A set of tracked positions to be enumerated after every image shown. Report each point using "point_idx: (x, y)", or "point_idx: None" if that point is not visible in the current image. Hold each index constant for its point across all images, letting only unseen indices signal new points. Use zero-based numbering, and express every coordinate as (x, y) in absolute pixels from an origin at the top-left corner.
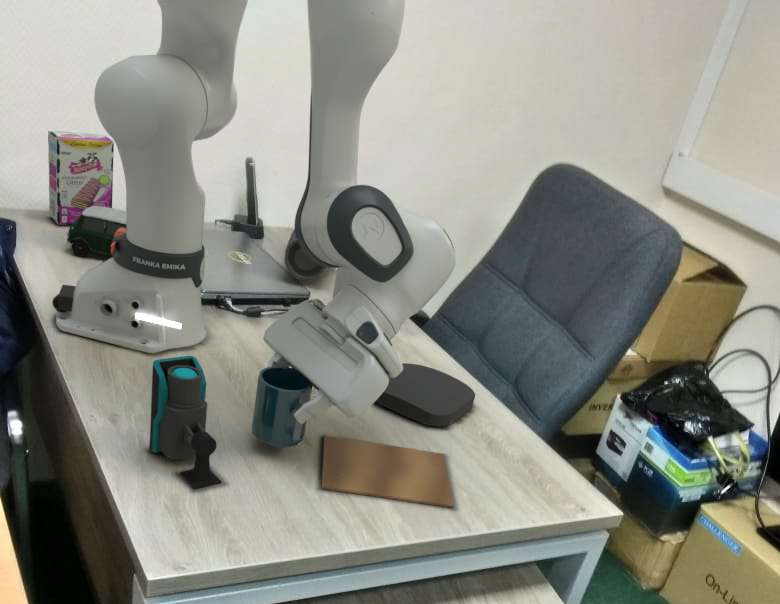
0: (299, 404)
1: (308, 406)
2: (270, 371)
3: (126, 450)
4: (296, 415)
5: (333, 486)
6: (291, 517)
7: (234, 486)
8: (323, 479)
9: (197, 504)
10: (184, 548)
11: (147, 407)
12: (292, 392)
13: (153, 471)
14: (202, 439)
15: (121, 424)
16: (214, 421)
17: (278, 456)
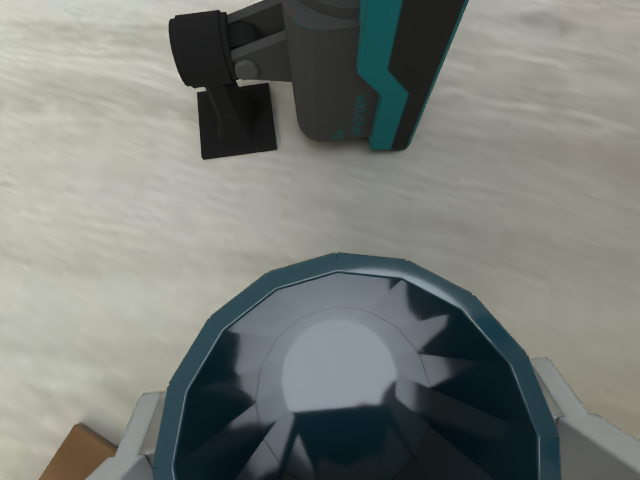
0: None
1: (91, 477)
2: (512, 399)
3: None
4: (142, 397)
5: (57, 463)
6: (4, 268)
7: (180, 185)
8: (102, 448)
9: (143, 84)
10: (18, 18)
11: (605, 107)
12: (165, 403)
13: None
14: (176, 15)
15: (516, 30)
16: (516, 256)
17: None
